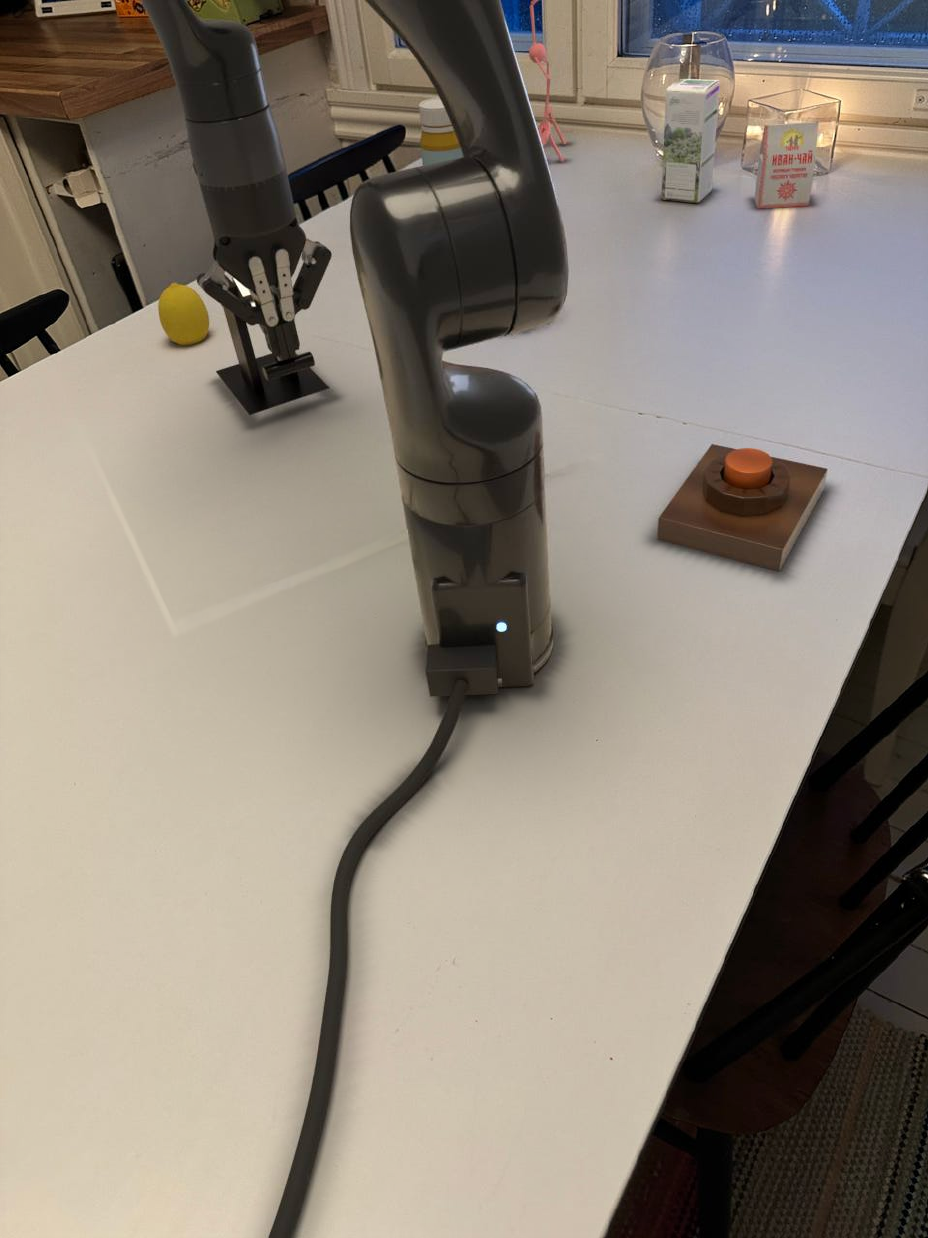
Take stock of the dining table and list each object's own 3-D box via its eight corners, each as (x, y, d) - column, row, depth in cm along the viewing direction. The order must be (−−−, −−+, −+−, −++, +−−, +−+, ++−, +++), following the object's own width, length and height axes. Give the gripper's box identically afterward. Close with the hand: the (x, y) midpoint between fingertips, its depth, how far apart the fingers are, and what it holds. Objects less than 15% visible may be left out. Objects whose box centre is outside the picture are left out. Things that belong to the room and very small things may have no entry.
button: (761, 495, 73) (763, 476, 72) (716, 484, 74) (718, 466, 73) (775, 471, 75) (778, 453, 74) (732, 462, 77) (734, 443, 75)
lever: (315, 371, 93) (315, 355, 91) (268, 387, 91) (267, 371, 89) (266, 284, 96) (265, 266, 94) (221, 297, 95) (218, 280, 93)
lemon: (161, 355, 111) (139, 290, 105) (191, 335, 114) (171, 271, 109) (196, 361, 109) (176, 295, 103) (226, 341, 112) (207, 276, 107)
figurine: (572, 129, 163) (568, -124, 140) (565, 177, 144) (560, -106, 121) (486, 135, 165) (468, -113, 142) (468, 183, 147) (444, -94, 123)
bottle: (422, 223, 136) (408, 109, 125) (437, 205, 140) (425, 95, 130) (468, 223, 134) (457, 108, 124) (481, 206, 138) (472, 94, 128)
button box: (778, 572, 71) (786, 530, 69) (656, 539, 76) (659, 499, 73) (823, 490, 79) (831, 449, 76) (709, 464, 83) (713, 425, 80)
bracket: (332, 398, 99) (306, 280, 90) (252, 425, 96) (219, 307, 88) (292, 357, 107) (266, 246, 98) (218, 381, 104) (184, 269, 96)
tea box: (754, 199, 130) (762, 121, 123) (804, 196, 129) (815, 117, 122) (757, 208, 127) (766, 129, 120) (808, 205, 126) (820, 125, 119)
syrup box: (713, 190, 134) (722, 77, 124) (697, 204, 130) (705, 89, 121) (675, 187, 136) (681, 76, 127) (659, 200, 133) (664, 87, 123)
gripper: (177, 198, 75) (234, 392, 86) (328, 159, 78) (363, 349, 90) (154, 176, 80) (211, 362, 91) (297, 141, 84) (333, 323, 95)
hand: (286, 355), depth 91 cm, fingers closed
